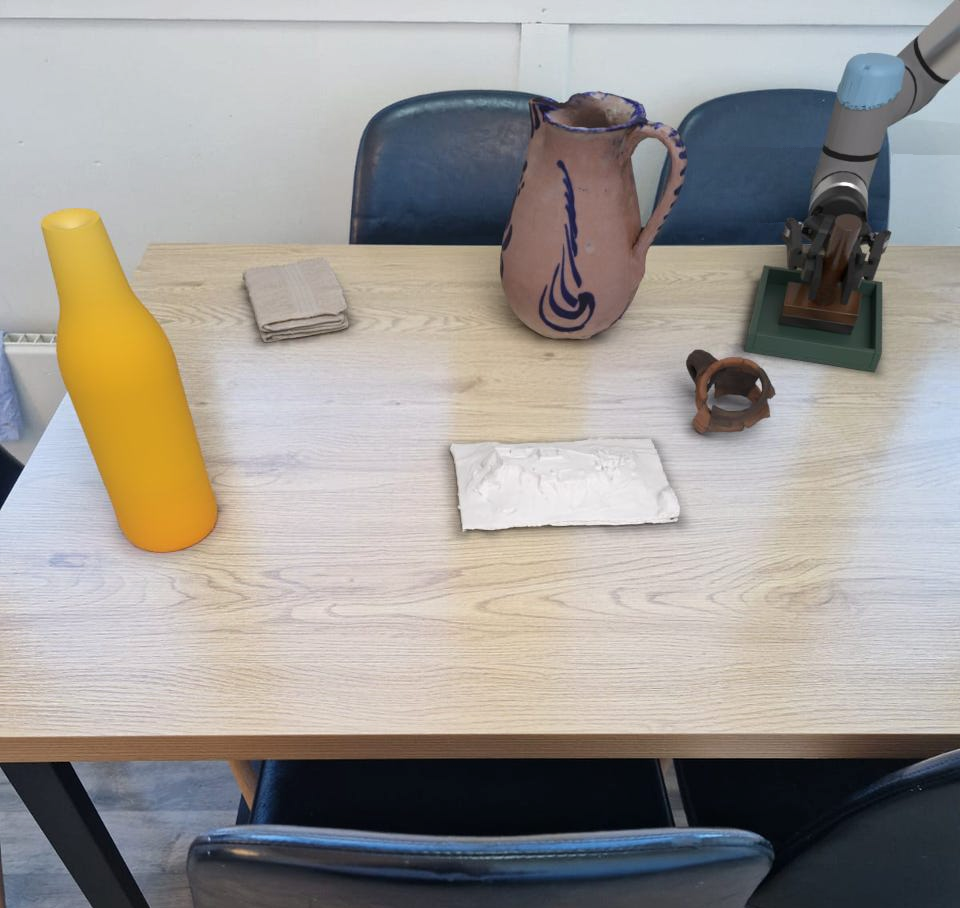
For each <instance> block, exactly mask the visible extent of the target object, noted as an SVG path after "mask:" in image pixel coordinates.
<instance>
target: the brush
mask: <svg viewBox="0 0 960 908" xmlns="http://www.w3.org/2000/svg"><path fill="white" fill-rule="evenodd" d="M861 226H862V221H861V219H860V218H859V217H857V216H855V215H851V214H843V215H840V216H838V217H837V218H836V220H835V223H834V226H833V229H832V232H831V235H830V238H829V241H828V244H827V247H826V250H825V252H824V254H823V255H824V256H823V266H822V275H821V281H820V284H819V287H818V291H817V294H816V297H815V300H814V301H812V300H808V295H809V287H810V285H808V284H801V283H794V282H788V286H787V289H786V293H785V296H784V299H783V304H782V309H781V314H780V319H779V324H783V325H790V326H796V327H803V328H809V329H816V330H823V331H829V332H836V333H843V334H849V335H851V333H852V330H853V328H854V325H855V323H856V320H857V318H858V314H859V307H860V299H861V292H857V291H851V294H850V297H849V300H848V303H847V305H840V300H841V289H839V288H840V285H841V283H842V280H843V277H844V274H845V271H846V268H847V266H848V263H849V260H850V257H851V254H852V251H853V249H854V246H855V243H856V240H857V237H858V234H859V232H860V229H861Z"/></svg>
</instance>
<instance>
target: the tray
mask: <svg viewBox="0 0 960 908" xmlns="http://www.w3.org/2000/svg"><path fill="white" fill-rule="evenodd" d="M801 273H802V269H801V270H800V269H796V270H790V269H789V268H787V267H778V266H772V265H771V266H770V265H763V267H762V272H761V276H760V279H759V283H758V287H757V293H756V297H755V301H754V305H753V306H754V307H753V311H752V316H751V319H750V320H751V321H750V324H749V325H750V326H749V329H748V334H747V339H746V343H745V348H744V352H745V353H753V354H758V355H765V356H770V357H777V358H782V359H783V358H784V359H789V360H790V359H791V360H795V361H802V362H808V363H815V364H820V365H827V366H832V367H833V366H834V367H840V368H845V369H853V370H859V371H863V372H864V371H865V372H871V373H876V371H877V369H878V365H879V363H880V360H881V357H882V355H883V281H878V280H874V279H873V280H871V281H868V280H865V279H864V278H862V281H861V284H860V286H859V288H858V289H855V288H852V291H857V292H861V299H860V307H859V314H858V318H857V320H856V323H855V325H854V328H853V330H852V333H851V335H849V334H843V333H836V332H829V331H823V330H816V329H809V328H803V327H796V326H790V325H783V324H779V319H780V314H781V309H782V304H783V299H784V296H785V293H786V289H787V286H788V282H794V283H801V284H808V285H810V282H807V281H803V280H802V279H801V278H800V276H801ZM841 285H842V283H841ZM841 285H840V288H839V289H841Z"/></svg>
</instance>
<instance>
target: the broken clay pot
mask: <svg viewBox="0 0 960 908" xmlns="http://www.w3.org/2000/svg"><path fill="white" fill-rule="evenodd" d="M685 366H686V369H687V372H688V375H689V376H690V378H691V380H692V382H693V383H694V386H695V390H694V394H695V396H694V397H695V398H694V399H695V406H696V409H697V412H696V414H695V416H694V418H693V419H692V426H693V428H694V429H695V430H696V432H698V433H699V434H703V433H706V431H707V432H708V433H737V432H743V431H744V429H745V428H748V429H750V428H752V427H754V426H755V425H756V424H757V423H759V422H760V421H761V420H764V419H769V418H771V409H770V405H769V401H768V400H771V399H773V398H774V397H775V396H776V389H775V387H774V386H773V384H772V381H771V380H770V378H769V375H768V374H767V372H766V370H765V369H764V368H763V367H761V366H760V365H759V364H758V363H756V362H754V361H753V360H751V359H748V358H743V357H742V356H730V357H725V358H722V359H718V358H716V357H714V355H713V354H711V353H710V352H708V351H705V350H704V349H693V351H692V352H691V353H689V354H688V355H687V358H686V360H685ZM758 381H760V384H761V385H760V386H761V389H760V387H759V386H758V385H757V382H758ZM713 386H714V387H713ZM712 387H713V389H714V394H713V395H714V398H716V399H717V398H720V397H725V396H740V397H743V398H746V399H747V400H749V402H750V403H752V405H751V406H749V407H747V408H744V409H741V410H727V409H724V408H721V407H719V406H717V405H716V404H712V406H711V408H710V407H709V406H708V403H707V401H708V400H709V395H708V393H709V391H710V390H711V388H712Z"/></svg>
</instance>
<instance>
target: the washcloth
mask: <svg viewBox="0 0 960 908" xmlns="http://www.w3.org/2000/svg"><path fill="white" fill-rule="evenodd" d="M242 281H244V286H245V289H246V292H247V294H248V298H249V301H250V305H251V308H252V309H253V314H254V317H255V321H256V324H257V326H258V329H259V330H258V331H259V333H260V337H261V339H262V341H263V342H265V343H270V342H277V341H281V340H285V339H293V338H301V337H308V336H313V335H314V336H315V335H318V334H325V333H330V332H336V331H340V330H344V329H346V328H348V327H349V319H348V316H347V313H346V310H348V304H347V303H346V300H345V296H344V291H343V287H342V286H341V285H340V283H339V281H338V280H337V277H336V275H335V273H334V272H333V270H332V268H331V266H330V264H329V262H328V259H327V258H325V257H316V258H308V259H301V260H299V261H297V262H292V263H287V264H283V265H278V264H275V265H269V266H268V265H265V266H260V267H255V268H253V267H252V268H249V269H244V270H243V272H242Z"/></svg>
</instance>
